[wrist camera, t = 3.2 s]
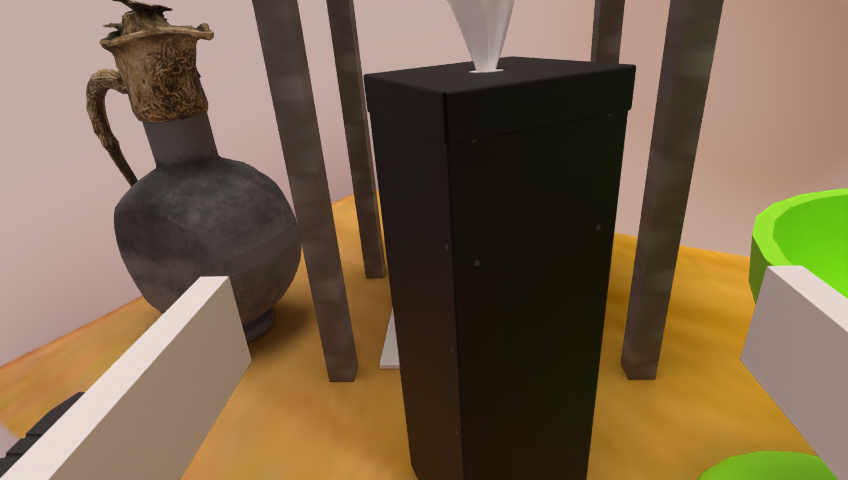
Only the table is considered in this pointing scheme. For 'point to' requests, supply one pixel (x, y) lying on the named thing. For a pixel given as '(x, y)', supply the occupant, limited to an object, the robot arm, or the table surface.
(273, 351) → the table surface
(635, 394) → the table surface
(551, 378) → the tissue box
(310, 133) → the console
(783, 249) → the wineglass
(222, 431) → the table surface
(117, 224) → the pitcher
